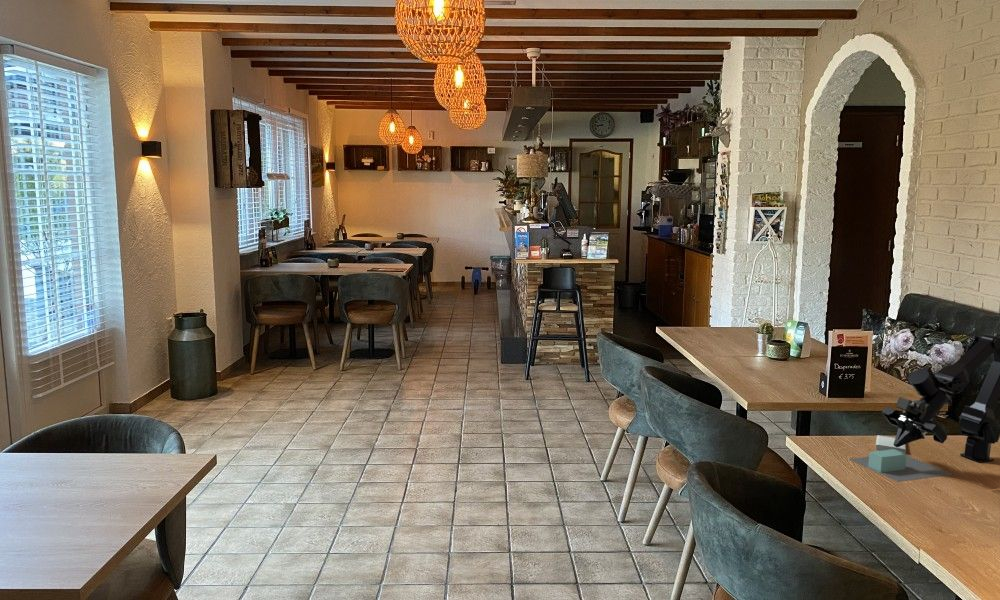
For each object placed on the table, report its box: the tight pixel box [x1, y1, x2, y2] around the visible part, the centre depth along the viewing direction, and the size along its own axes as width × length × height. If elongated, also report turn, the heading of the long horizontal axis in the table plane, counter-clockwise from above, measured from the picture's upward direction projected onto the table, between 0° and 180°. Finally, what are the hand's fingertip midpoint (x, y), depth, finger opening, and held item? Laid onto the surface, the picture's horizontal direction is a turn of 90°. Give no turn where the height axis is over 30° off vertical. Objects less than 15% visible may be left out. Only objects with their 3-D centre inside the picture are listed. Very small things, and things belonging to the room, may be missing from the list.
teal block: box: [868, 449, 908, 473], centre depth 216 cm, size 4×4×9 cm
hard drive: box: [875, 434, 907, 454], centre depth 235 cm, size 2×8×12 cm
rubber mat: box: [848, 455, 954, 483], centre depth 217 cm, size 20×18×1 cm
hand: (895, 446), depth 216 cm, fingers closed
